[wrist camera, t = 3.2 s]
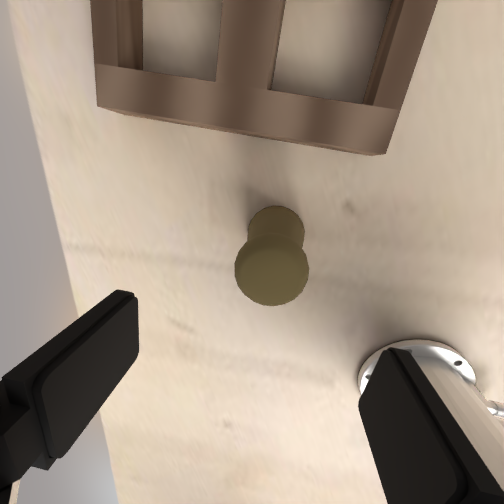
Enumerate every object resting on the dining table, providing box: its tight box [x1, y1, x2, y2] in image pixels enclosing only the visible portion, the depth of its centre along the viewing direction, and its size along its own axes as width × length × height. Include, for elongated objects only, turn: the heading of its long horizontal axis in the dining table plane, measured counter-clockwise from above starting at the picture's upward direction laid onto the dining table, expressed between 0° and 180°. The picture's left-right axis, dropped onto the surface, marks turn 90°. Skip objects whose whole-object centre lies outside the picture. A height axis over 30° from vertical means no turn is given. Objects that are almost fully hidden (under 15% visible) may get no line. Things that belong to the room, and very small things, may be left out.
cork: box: [235, 206, 309, 306], centre depth 20 cm, size 6×6×11 cm
